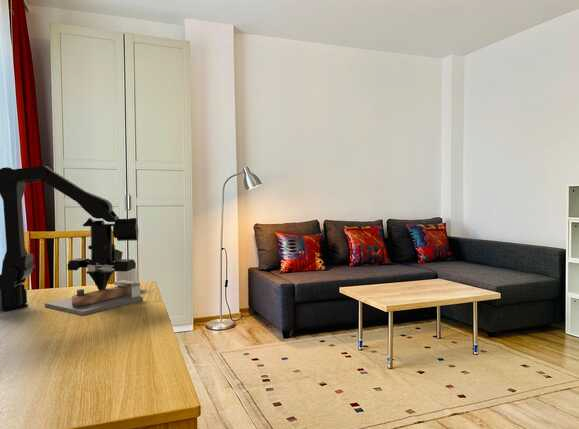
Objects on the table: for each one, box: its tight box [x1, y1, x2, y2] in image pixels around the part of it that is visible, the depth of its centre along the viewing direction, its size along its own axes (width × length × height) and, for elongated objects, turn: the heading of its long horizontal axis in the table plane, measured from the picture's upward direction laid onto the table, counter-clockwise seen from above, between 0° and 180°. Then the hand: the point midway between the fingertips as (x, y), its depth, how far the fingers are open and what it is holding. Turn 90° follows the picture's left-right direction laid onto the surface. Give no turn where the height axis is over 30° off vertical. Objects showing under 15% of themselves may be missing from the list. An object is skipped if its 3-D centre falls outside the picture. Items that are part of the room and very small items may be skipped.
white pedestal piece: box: [115, 267, 138, 282], centre depth 147 cm, size 7×7×7 cm
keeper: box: [113, 280, 141, 298], centre depth 133 cm, size 3×8×4 cm, turn 56°
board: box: [44, 294, 144, 316], centre depth 129 cm, size 19×19×1 cm
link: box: [71, 285, 128, 307], centre depth 128 cm, size 18×4×4 cm, turn 149°
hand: (102, 293), depth 131 cm, fingers closed
